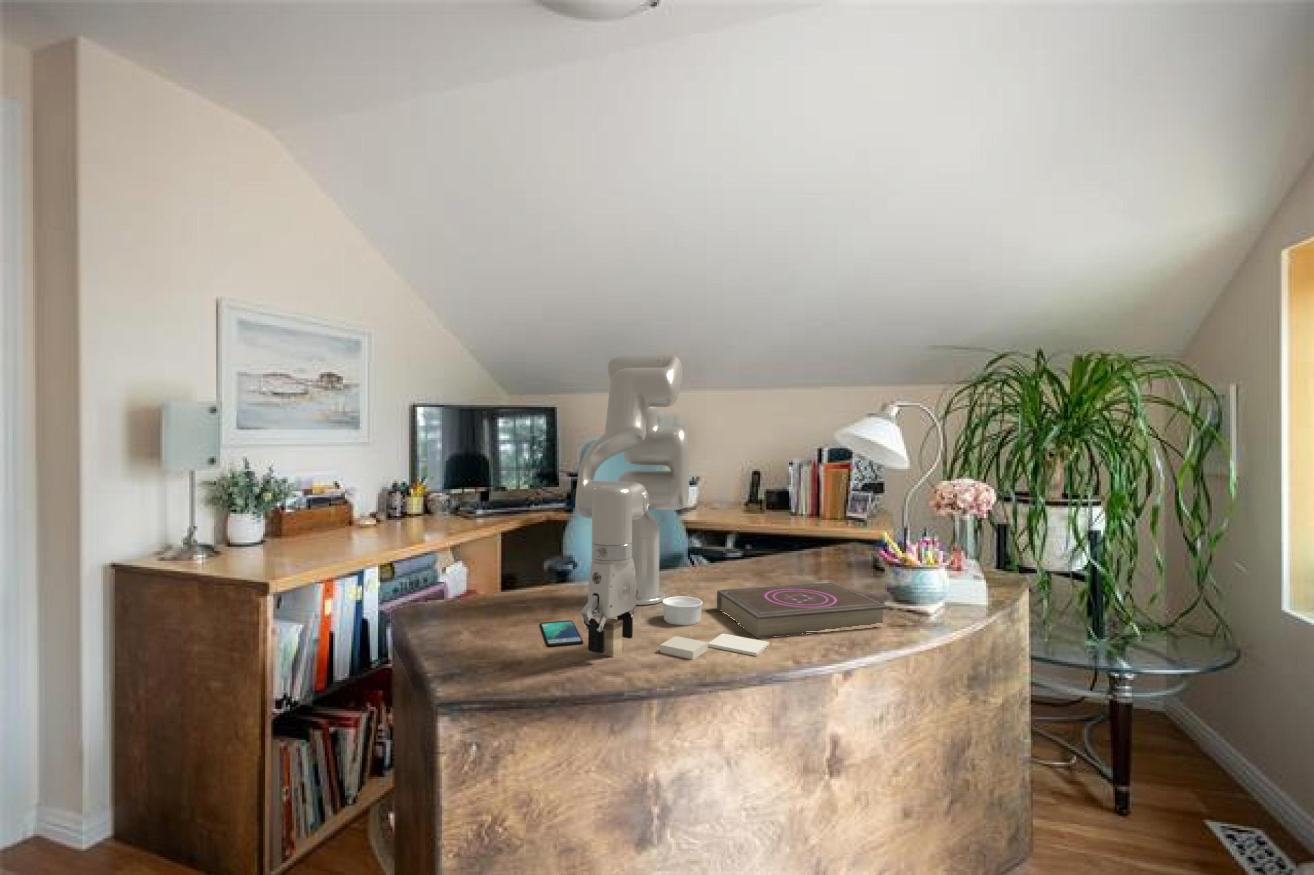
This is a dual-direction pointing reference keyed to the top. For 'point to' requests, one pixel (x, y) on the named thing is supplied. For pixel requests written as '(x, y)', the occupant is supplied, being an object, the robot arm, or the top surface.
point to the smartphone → (560, 633)
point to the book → (798, 608)
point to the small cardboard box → (613, 637)
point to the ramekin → (682, 610)
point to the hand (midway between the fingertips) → (611, 644)
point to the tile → (684, 647)
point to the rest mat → (739, 644)
